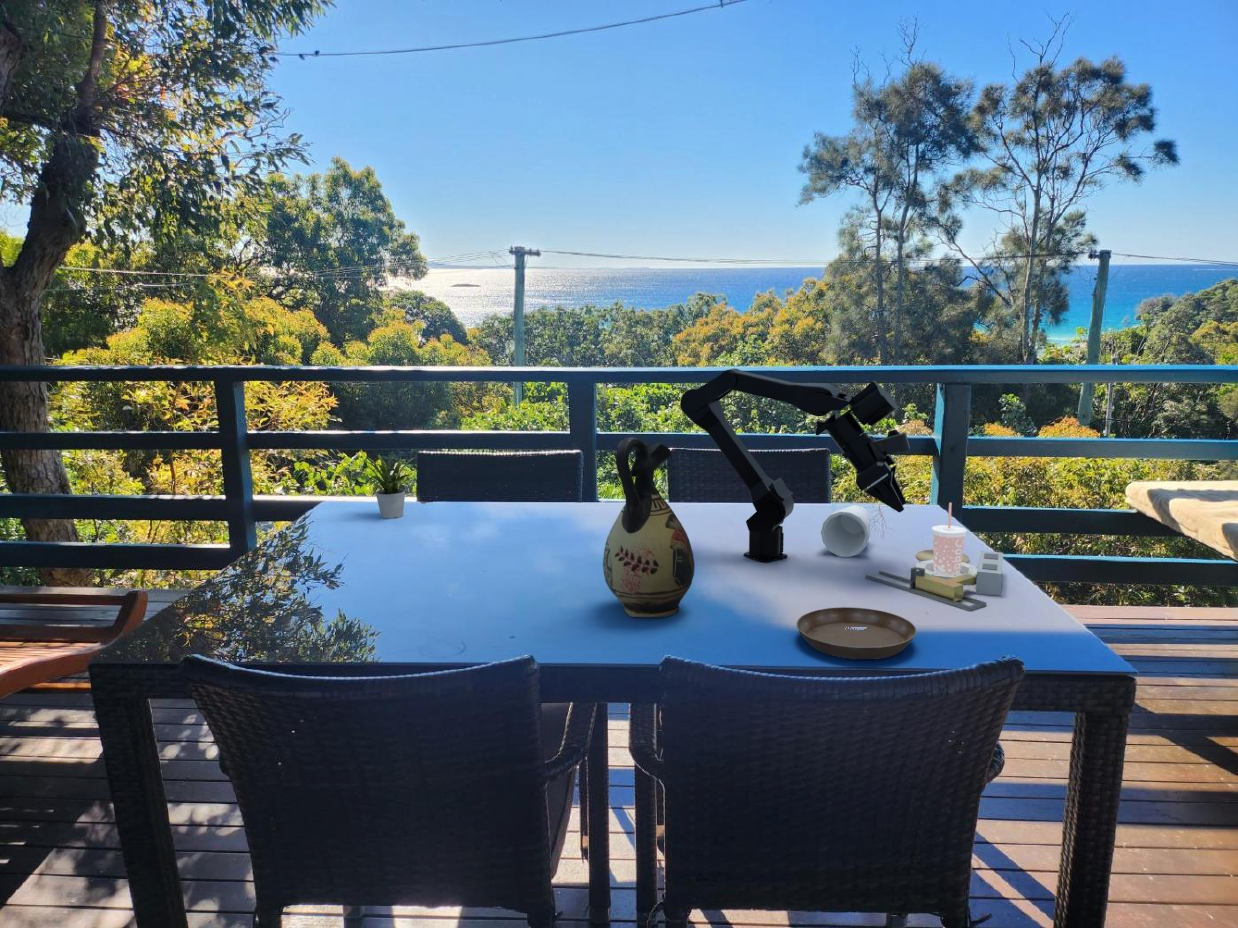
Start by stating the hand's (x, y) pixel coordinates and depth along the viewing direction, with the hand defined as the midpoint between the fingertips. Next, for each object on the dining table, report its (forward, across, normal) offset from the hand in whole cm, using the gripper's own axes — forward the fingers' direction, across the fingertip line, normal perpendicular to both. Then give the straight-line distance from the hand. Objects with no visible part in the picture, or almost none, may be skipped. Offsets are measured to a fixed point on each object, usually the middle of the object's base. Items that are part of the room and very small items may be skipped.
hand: (903, 507), depth 170 cm
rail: (+13, -9, +5) cm, 17 cm away
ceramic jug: (-12, -34, +41) cm, 54 cm away
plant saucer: (+10, -37, +14) cm, 41 cm away
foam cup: (-2, +21, +12) cm, 25 cm away
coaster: (+14, +13, +1) cm, 19 cm away
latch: (+15, -8, +2) cm, 17 cm away
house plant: (-66, +11, +103) cm, 123 cm away
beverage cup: (+15, +2, +2) cm, 15 cm away
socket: (+16, 0, 0) cm, 16 cm away
